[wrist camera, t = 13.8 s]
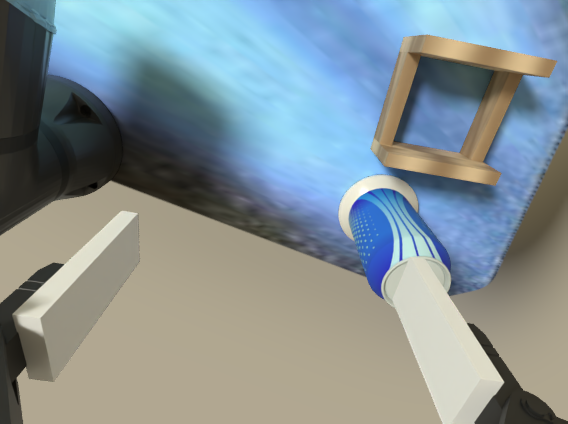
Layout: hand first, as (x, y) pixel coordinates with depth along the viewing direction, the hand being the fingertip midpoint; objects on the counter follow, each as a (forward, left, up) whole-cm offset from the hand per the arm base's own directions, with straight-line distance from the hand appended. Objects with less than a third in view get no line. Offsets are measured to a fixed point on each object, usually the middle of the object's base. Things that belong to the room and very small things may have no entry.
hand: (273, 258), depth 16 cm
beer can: (+15, -9, -28) cm, 33 cm away
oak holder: (+18, +6, -29) cm, 34 cm away
